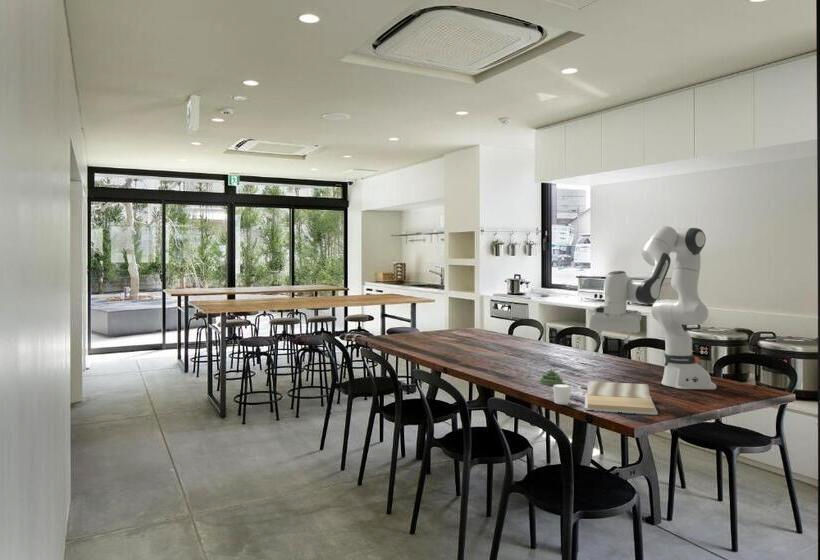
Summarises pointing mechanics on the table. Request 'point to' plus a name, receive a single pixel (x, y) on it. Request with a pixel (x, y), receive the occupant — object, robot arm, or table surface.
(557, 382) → the decorative artifact
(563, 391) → the white cylinder
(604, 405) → the cream square board
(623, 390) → the tilted plank
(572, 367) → the table surface
